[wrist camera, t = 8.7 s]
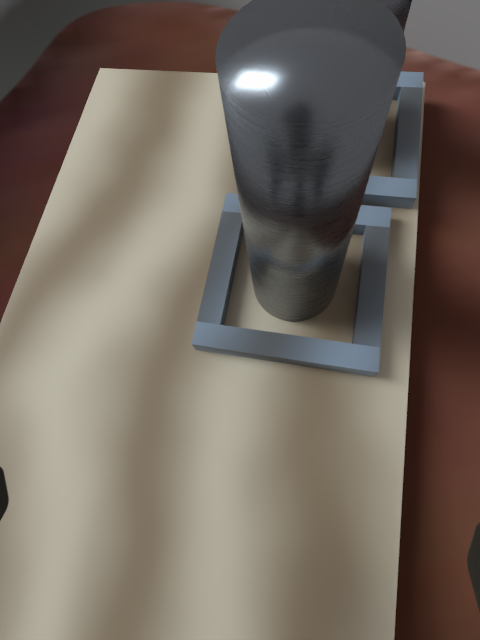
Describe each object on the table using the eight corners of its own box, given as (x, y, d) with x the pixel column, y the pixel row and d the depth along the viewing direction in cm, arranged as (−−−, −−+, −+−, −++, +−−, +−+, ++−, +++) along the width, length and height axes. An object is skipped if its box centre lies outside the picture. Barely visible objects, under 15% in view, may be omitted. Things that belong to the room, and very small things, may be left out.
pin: (347, 260, 18) (428, 0, 8) (319, 333, 18) (371, 143, 7) (271, 236, 19) (256, -30, 9) (240, 304, 18) (185, 95, 8)
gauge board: (418, 101, 23) (430, 68, 21) (373, 841, 13) (387, 902, 11) (108, 86, 25) (94, 55, 24) (-116, 681, 16) (-169, 708, 14)
